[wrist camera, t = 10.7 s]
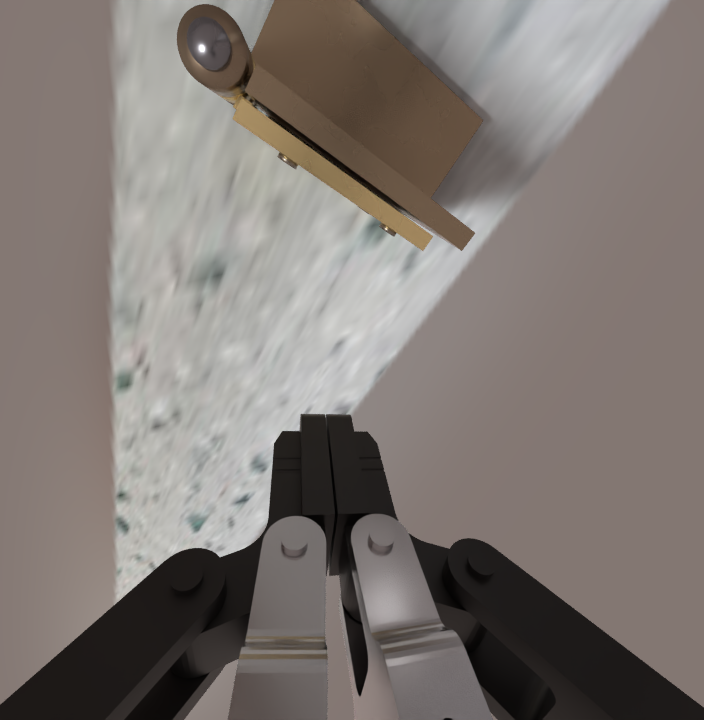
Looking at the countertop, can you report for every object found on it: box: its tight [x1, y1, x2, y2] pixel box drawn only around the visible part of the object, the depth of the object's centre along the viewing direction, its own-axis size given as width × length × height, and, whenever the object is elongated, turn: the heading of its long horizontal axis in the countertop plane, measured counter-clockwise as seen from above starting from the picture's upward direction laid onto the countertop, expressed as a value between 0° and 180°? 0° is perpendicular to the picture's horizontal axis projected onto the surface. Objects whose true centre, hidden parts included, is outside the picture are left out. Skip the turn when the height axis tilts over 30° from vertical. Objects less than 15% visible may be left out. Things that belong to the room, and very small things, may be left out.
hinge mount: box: [177, 0, 483, 251], centre depth 19 cm, size 8×14×10 cm, turn 57°
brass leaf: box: [214, 57, 433, 251], centre depth 20 cm, size 12×3×9 cm, turn 57°
